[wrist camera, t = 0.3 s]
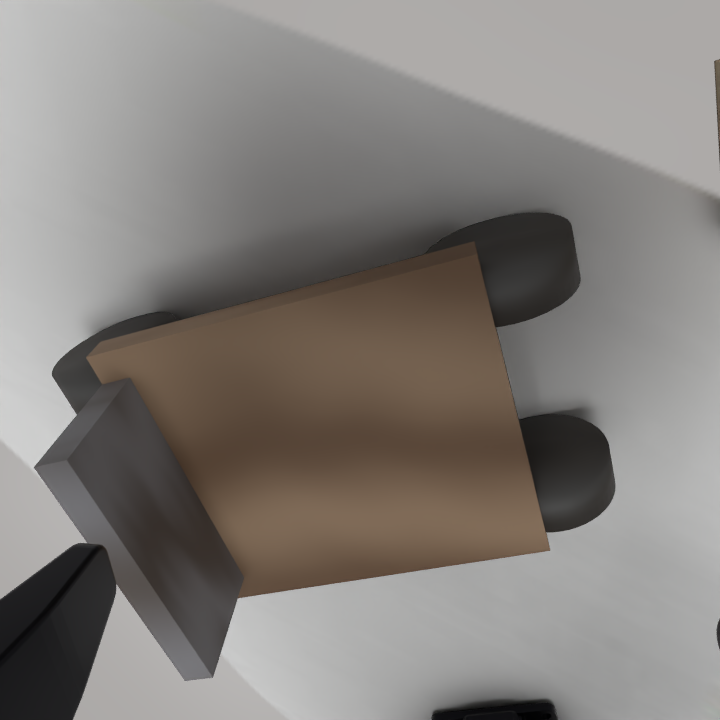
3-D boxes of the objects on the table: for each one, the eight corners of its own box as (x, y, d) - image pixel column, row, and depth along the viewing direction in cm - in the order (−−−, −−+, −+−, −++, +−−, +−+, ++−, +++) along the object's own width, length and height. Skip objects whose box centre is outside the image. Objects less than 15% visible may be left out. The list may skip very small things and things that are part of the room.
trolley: (601, 452, 25) (673, 645, 18) (203, 525, 29) (127, 707, 22) (553, 179, 20) (626, 291, 13) (80, 313, 24) (-74, 457, 17)
